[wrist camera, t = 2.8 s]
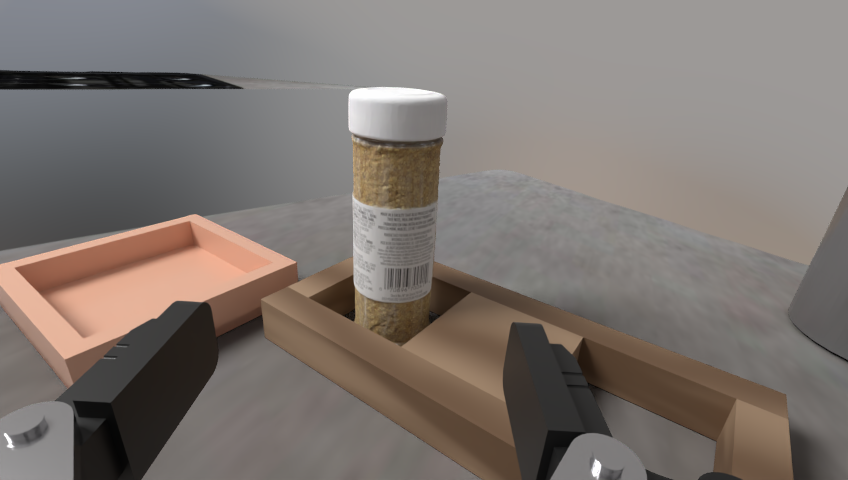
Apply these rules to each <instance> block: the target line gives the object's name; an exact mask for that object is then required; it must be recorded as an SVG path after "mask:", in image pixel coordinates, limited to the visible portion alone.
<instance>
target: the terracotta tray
mask: <svg viewBox="0 0 848 480" xmlns="http://www.w3.org/2000/svg"><path fill="white" fill-rule="evenodd" d="M297 282H298V273H297V262H295V261H293V260H291V259H289V258H287V257H285V256H283V255H281V254H278V253H276V252H274V251H272V250H270V249H268V248H266V247H264V246H262V245H260V244H257V243H255V242H253V241H251V240H249V239H247V238H245V237H243V236H241V235H239V234H236V233H234V232H232V231H230V230H228V229H226V228H224V227H222V226H220V225H218V224H215V223H213V222H211V221H209V220H207V219H205V218H203V217H201V216H199V215H196V214H194V215H190V216H186V217H182V218H178V219H175V220H171V221H167V222H163V223H159V224H155V225H151V226H147V227H143V228H140V229H136V230H132V231H128V232H124V233H120V234H116V235H113V236H109V237H105V238H101V239H97V240H93V241H89V242H85V243H82V244H78V245H74V246H70V247H66V248H62V249H58V250H55V251H51V252H47V253H43V254H39V255H35V256H31V257H27V258H24V259H20V260H16V261H12V262H8V263H4V264H0V305H1V307H2V308H3V309H4V310H5V312H6V313H7V314H8V315H9V317H10V318H11V319H12V320H13V322H14V323H15V324H16V325H17V326H18V328H19V329H20V330H21V331H22V333H23V334H24V335H25V336H26V338H27V339H28V340H29V341H30V342H31V344H32V345H33V346H34V347H35V349H36V350H37V351H38V352H39V354H40V355H41V356H42V357H43V358H44V360H45V361H46V362H47V363H48V365H49V366H50V367H51V368H52V370H53V371H54V372H55V373H56V374H57V376H58V377H59V378H60V379H61V381H62V382H63V383H64V384H65V386H66V387H67V388H69V387H70V386H71V385H73V384H74V383H75V382H76V381H77V380H78V379H79V378H80V377H81V376H82V375H83V374H84V373H85V372H87V371H88V370H89V369H90V368H91V367H92V366H93V365H94V364H95V363H96V362H97V361H98V360H100V359H103V358H104V355H105V354H106V353H107V352H108V351H109V350H110V349H111V348H112V347H116V345H117V343H118V342H119V341H120V340H121V339H122V338H123V337H124V336H125V335H126V334H128V333H129V332H130V331H131V330H132V329H134V328H136V327H138V326H139V325H141V324H143V323H145V322H147V321H149V320H150V319H152V318H155V319H157V318H158V317H159V316H160V315H161V314H162V313H163V312H164V311H165V310H166V309H167V308H168V307H169V306H170V305H171V304H172V303H174V302H175V301H193V302H207V303H208V304H209V305H210V306H211V309H212V314H213V320H214V327H215V333H216V337H218V336H220V335H222V334H224V333H226V332H228V331H230V330H232V329H234V328H236V327H238V326H240V325H242V324H244V323H246V322H248V321H250V320H252V319H254V318H256V317H258V316H260V315H262V307H261V299H262V298H264V297H266V296H269V295H271V294H273V293H275V292H277V291H279V290H282V289H284V288H286V287H288V286H290V285H292V284H295V283H297Z"/></svg>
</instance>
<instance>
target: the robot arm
mask: <svg viewBox="0 0 848 480" xmlns="http://www.w3.org/2000/svg"><path fill="white" fill-rule="evenodd" d="M788 313H789V317H790V319H791V320H792V322H793V323H794V324H795V325H796V326H797V327H798V328H799V329H800V330H801V331H802V332H803V333H804V334H806V335H807V336H808V337H810V338H811V339H812V340H813V341H815V342H817V343H818V344H820V345H821V346H823V347H825V348H826V349H828V350H830V351H831V352H833V353H835V354H837V355H839V356H841V357H843V358H845V359H847V360H848V187H847V190H846V191H845V193H844V195H843V198H842V200H841V202H840V204H839V206H838V208H837V210H836V212H835V214H834V216H833V218H832V220H831V222H830V225H829V226H828V229H827V231H826V233H825V235H824V237H823V239H822V241H821V243H820V246H819V247H818V249H817V251H816V253H815V255H814V257H813V259H812V261H811V263H810V265H809V267H808V269H807V271H806V274H805V276H804V278H803V280H802V282H801V284H800V286H799V288H798V290H797V292H796V294H795V296H794V298H793V301H792V303H791V305H790V307H789V309H788ZM217 361H218V345H217V339H216V333H215V327H214V320H213V314H212V309H211V306H210V305H209V304H208V303H207V302H193V301H175V302H174V303H172V304H171V305H170V306H169V307H168V308H167V309H166V310H165V311H164V312H163V313H162V314H161V315H160V316H159V317H158V318H157V319H155V318H152V319H150V320H149V321H147V322H145V323H143V324H141V325H139V326H138V327H136V328H134V329H132V330H131V331H130V332H129V333H128V334H126V335H125V336H124V337H123V338H122V339H121V340H120V341H119V342H118V343H117V345H116V347H112V348H111V349H110V350H109V351H108V352H107V353H106V354H105V355H104V358H103V359H100V360H98V361H97V362H96V363H95V364H94V365H93V366H92V367H91V368H90V369H89V370H88V371H87V372H85V373H84V374H83V375H82V376H81V377H80V378H79V379H78V380H77V381H76V382H75V383H74V384H73V385H71V386H70V387H69V388H68V389H67V390H66V391H65V392H64V393H63V394H62V395H61V396H60V397H59V398H57V399H56V400H55V401H49V402H42V403H37V404H33V405H29V406H26V407H24V408H21V409H19V410H16V411H14V412H12V413H10V414H8V415H6V416H4V417H3V418H1V419H0V480H141V479H142V478H143V476H144V475H145V473H146V472H147V470H148V469H149V467H150V466H151V464H152V463H153V461H154V460H155V458H156V457H157V456H158V454H159V453H160V451H161V450H162V448H163V447H164V445H165V444H166V442H167V441H168V439H169V438H170V436H171V435H172V433H173V432H174V430H175V429H176V428H177V426H178V425H179V423H180V422H181V420H182V419H183V417H184V416H185V414H186V413H187V411H188V410H189V408H190V407H191V405H192V404H193V402H194V401H195V400H196V398H197V397H198V395H199V394H200V392H201V391H202V389H203V388H204V386H205V385H206V383H207V382H208V380H209V379H210V377H211V376H212V374H213V373H214V371H215V368H216V365H217ZM582 374H583V373H582V371H581V368H580V366H579V364H578V362H577V360H576V358H575V357H574V356H573V355H572V354H571V353H570V352H569V351H568V350H567V349H566V348H565V347H564V346H563V345H562V344H551V343H549V340H548V338H547V335H546V333H545V330H544V328H543V326H542V324H538V323H522V322H513V323H512V324H511V327H510V332H509V338H508V344H507V350H506V355H505V361H504V367H503V391H504V396H505V401H506V406H507V411H508V415H509V420H510V425H511V430H512V435H513V439H514V444H515V449H516V454H517V458H518V463H519V468H520V473H521V477H522V480H672V479H669V478H666V477H663V476H660V475H658V474H655V473H652V472H650V471H648V470H646V469H645V468H644V466H643V464H642V462H641V461H640V459H639V458H638V456H637V455H636V454H635V453H634V452H633V451H632V450H631V449H630V448H629V447H627V446H626V445H625V444H623V443H622V442H620V441H618V440H616V439H614V438H613V437H612V435H611V433H610V430H609V428H608V426H607V424H606V422H605V420H604V418H603V416H602V413H601V411H600V409H599V407H598V405H597V403H596V401H595V398H594V396H593V394H592V392H591V390H590V389H589V388H588V383H587V381H586V379H585V377H584V376H583V375H582ZM698 480H742V479H740V478H738V477H735V476H733V475H729V474H726V473H720V472H711V473H706V474H704V475H702V476H701V477H700V478H699V479H698Z"/></svg>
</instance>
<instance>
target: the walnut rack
mask: <svg viewBox="0 0 848 480" xmlns="http://www.w3.org/2000/svg"><path fill="white" fill-rule="evenodd" d="M261 307H262V316H263V325H264V333H265V338H267V339H268V340H270V341H271V342H273V343H274V344H276V345H277V346H279V347H281V348H282V349H284V350H285V351H287V352H288V353H290V354H291V355H293V356H294V357H296V358H297V359H299V360H300V361H302V362H303V363H305V364H307V365H308V366H310V367H311V368H313V369H314V370H316V371H317V372H319V373H320V374H322V375H323V376H325V377H326V378H328V379H329V380H331V381H333V382H334V383H336V384H337V385H339V386H340V387H342V388H343V389H345V390H346V391H348V392H349V393H351V394H352V395H354V396H355V397H357V398H359V399H360V400H362V401H363V402H365V403H366V404H368V405H369V406H371V407H372V408H374V409H375V410H377V411H378V412H380V413H381V414H383V415H385V416H386V417H388V418H389V419H391V420H392V421H394V422H395V423H397V424H398V425H400V426H401V427H403V428H404V429H406V430H408V431H409V432H411V433H412V434H414V435H415V436H417V437H418V438H420V439H421V440H423V441H424V442H426V443H427V444H429V445H430V446H432V447H434V448H435V449H437V450H438V451H440V452H441V453H443V454H444V455H446V456H447V457H449V458H450V459H452V460H453V461H455V462H456V463H458V464H460V465H461V466H463V467H464V468H466V469H467V470H469V471H470V472H472V473H473V474H475V475H476V476H478V477H479V478H481V479H482V480H522V477H521V473H520V468H519V463H518V458H517V454H516V449H515V444H514V439H513V435H512V430H511V425H510V420H509V415H508V411H507V406H506V401H505V396H504V391H503V367H504V361H505V355H506V350H507V344H508V338H509V332H510V327H511V324H512V323H513V322H522V323H538V324H542V326H543V328H544V330H545V333H546V335H547V338H548V340H549V343H551V344H562V345H563V346H564V347H565V348H566V349H567V350H568V351H569V352H570V353H571V354H572V355H573V356H574V357H575V358H576V360H577V362H578V364H579V366H580V368H581V371H582V373H583V374H582V375H583V376H584V377H585V379H586V381H587V382H588V383H590V384H592V385H594V386H596V387H599V388H601V389H603V390H605V391H607V392H610V393H612V394H614V395H616V396H618V397H621V398H623V399H625V400H627V401H629V402H632V403H634V404H636V405H638V406H640V407H643V408H645V409H647V410H649V411H651V412H654V413H656V414H658V415H660V416H662V417H665V418H667V419H669V420H671V421H673V422H676V423H678V424H680V425H682V426H684V427H687V428H689V429H691V430H693V431H695V432H698V433H700V434H702V435H704V436H706V437H709V438H711V439H713V440H715V441H717V443H716V452H715V461H714V470H713V472H720V473H726V474H729V475H733V476H735V477H738V478H740V479H742V480H793V469H792V457H791V446H790V434H789V422H788V411H787V399H786V394H783V393H780V392H778V391H775V390H773V389H770V388H767V387H765V386H762V385H759V384H757V383H754V382H751V381H749V380H746V379H743V378H741V377H738V376H736V375H733V374H730V373H728V372H725V371H722V370H720V369H717V368H714V367H712V366H709V365H706V364H704V363H701V362H699V361H696V360H693V359H691V358H688V357H685V356H683V355H680V354H677V353H675V352H672V351H669V350H667V349H664V348H662V347H659V346H656V345H654V344H651V343H648V342H646V341H643V340H640V339H638V338H635V337H632V336H630V335H627V334H625V333H622V332H619V331H617V330H614V329H611V328H609V327H606V326H603V325H601V324H598V323H595V322H593V321H590V320H588V319H585V318H582V317H580V316H577V315H574V314H572V313H569V312H566V311H564V310H561V309H559V308H556V307H553V306H551V305H548V304H545V303H543V302H540V301H537V300H535V299H532V298H529V297H527V296H524V295H522V294H519V293H516V292H514V291H511V290H508V289H506V288H503V287H500V286H498V285H495V284H492V283H490V282H487V281H485V280H482V279H479V278H477V277H474V276H471V275H469V274H466V273H463V272H461V271H458V270H455V269H453V268H450V267H448V266H445V265H442V264H440V263H437V262H434V264H433V277H432V283H431V297H430V309H429V311H431V312H433V313H436V314H438V315H440V317H439V318H438V319H436V320H435V321H434V322H433V323H431V324H430V325H429V326H427V327H426V328H425V329H424V330H422V331H421V332H420V333H418V334H417V335H416V336H415V337H413V338H412V339H411V340H409V341H408V342H407V343H406V344H404V345H403V346H402V347H400V346H398V345H397V344H395V343H393V342H391V341H389V340H387V339H385V338H383V337H381V336H380V335H378V334H376V333H374V332H372V331H370V330H368V329H366V328H364V327H363V326H361V325H359V324H357V323H355V322H353V321H351V320H349V319H348V318H346V317H344V315H345V314H347V313H349V312H350V311H352V310H354V309H355V285H354V264H353V257H351V258H348V259H346V260H344V261H342V262H340V263H338V264H336V265H333V266H331V267H329V268H327V269H325V270H323V271H320V272H318V273H316V274H314V275H312V276H310V277H307V278H305V279H303V280H301V281H299V282H297V283H295V284H292V285H290V286H288V287H286V288H284V289H282V290H279V291H277V292H275V293H273V294H271V295H269V296H266V297H264V298H262V299H261Z"/></svg>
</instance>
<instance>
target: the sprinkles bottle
mask: <svg viewBox="0 0 848 480" xmlns="http://www.w3.org/2000/svg"><path fill="white" fill-rule="evenodd" d="M446 120H447V99H446V97H445V96H444V95H443V94H440V93H437V92H432V91H426V90H421V89H411V88H396V87H372V88H361V89H356V90H353V91H352V92H351V93H350V94H349V130H350V132H352V133H353V134H352V136H351V138H352V141H353V165H354V166H353V173H354V192H353V264H354V285H355V320H354V322H355V323H357V324H359V325H361V326H363V327H364V328H366V329H368V330H370V331H372V332H374V333H376V334H378V335H380V336H381V337H383V338H385V339H387V340H389V341H391V342H393V343H395V344H397V345H398V346H400V347H402V346H403V345H404V344H406V343H407V342H408V341H409V340H411V339H412V338H413V337H415V336H416V335H417V334H418V333H420V332H421V331H422V330H424V329H425V328H426V327H427V326H429V325H430V321H429V309H430V297H431V283H432V277H433V264H434V250H435V237H436V219H437V204H438V203H437V200H438V184H439V181H438V180H439V166H440V163H439V161H440V148H441V146H442V144H443V138H442V137H443V136H444V135H445V132H446Z"/></svg>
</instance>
